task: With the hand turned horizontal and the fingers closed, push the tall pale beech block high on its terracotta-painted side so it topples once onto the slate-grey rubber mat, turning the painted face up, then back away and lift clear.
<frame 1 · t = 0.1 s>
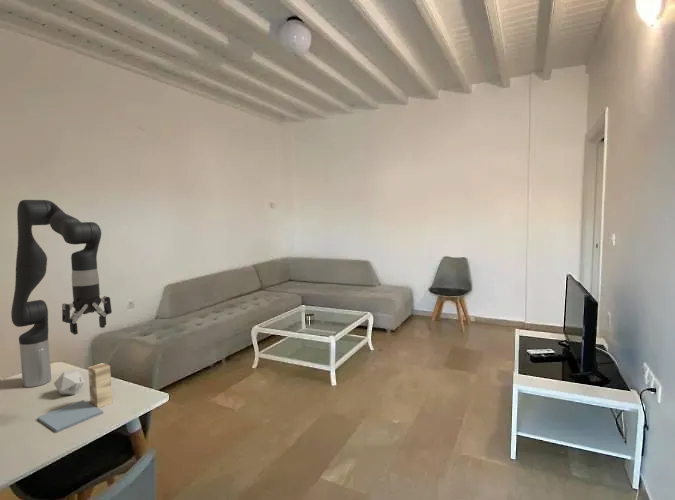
hand: (88, 330, 133), 29 cm above the table, tool pointing down, fingers open, 8 cm apart
die: (70, 393, 151), on the table
beech block: (101, 404, 143), on the table
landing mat: (70, 416, 134), on the table
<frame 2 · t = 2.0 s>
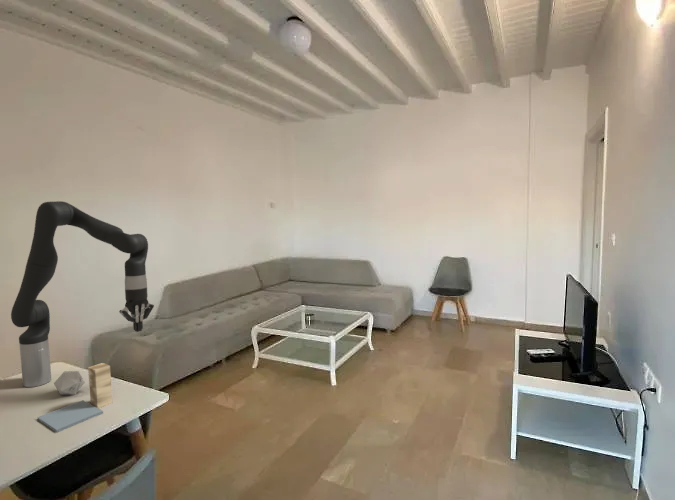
hand: (138, 331, 152), 23 cm above the table, tool pointing down, fingers closed
nothing on the table moved.
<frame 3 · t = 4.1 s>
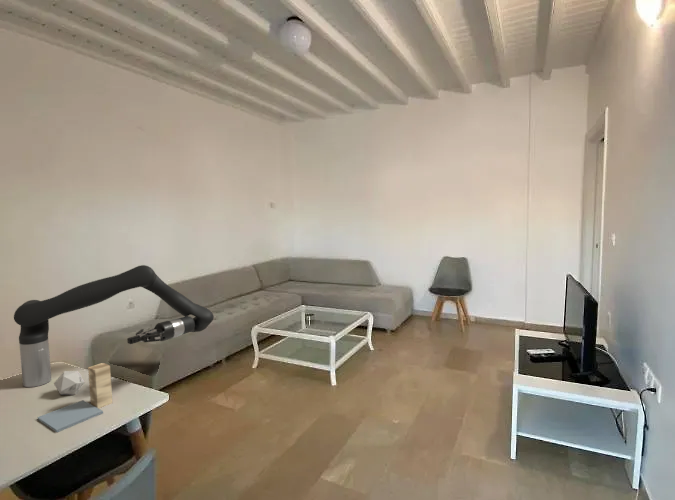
hand: (128, 341, 150), 20 cm above the table, tool horizontal, fingers closed
nothing on the table moved.
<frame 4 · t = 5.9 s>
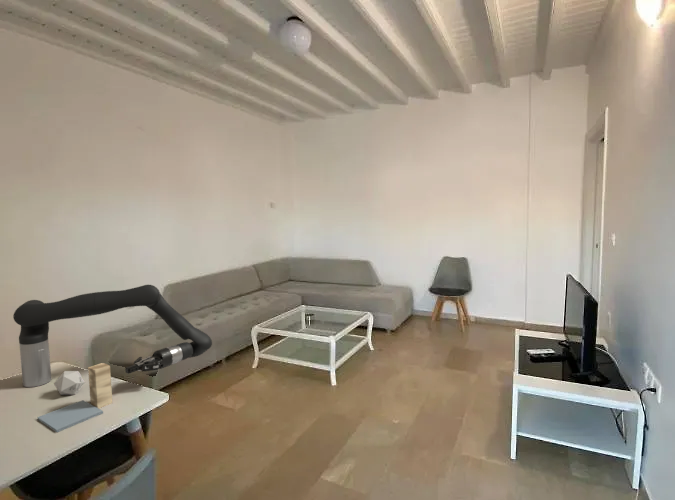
hand: (126, 370, 150), 9 cm above the table, tool horizontal, fingers closed
nothing on the table moved.
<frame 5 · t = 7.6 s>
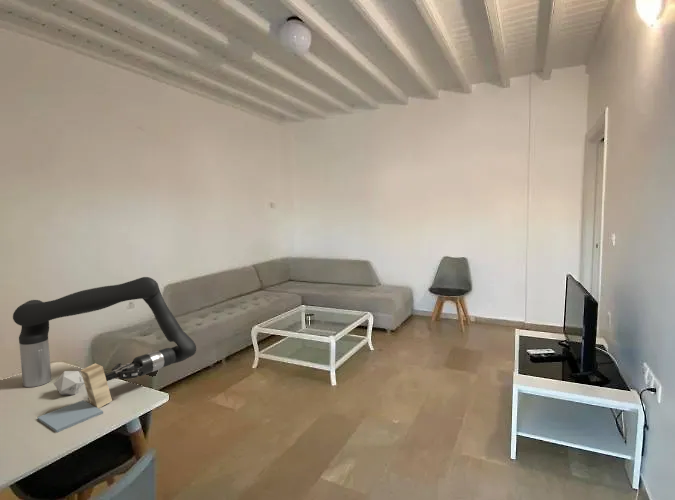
hand: (103, 378, 143), 9 cm above the table, tool horizontal, fingers closed
beech block: (101, 402, 142), on the table, tilted 10°
everything else where it was.
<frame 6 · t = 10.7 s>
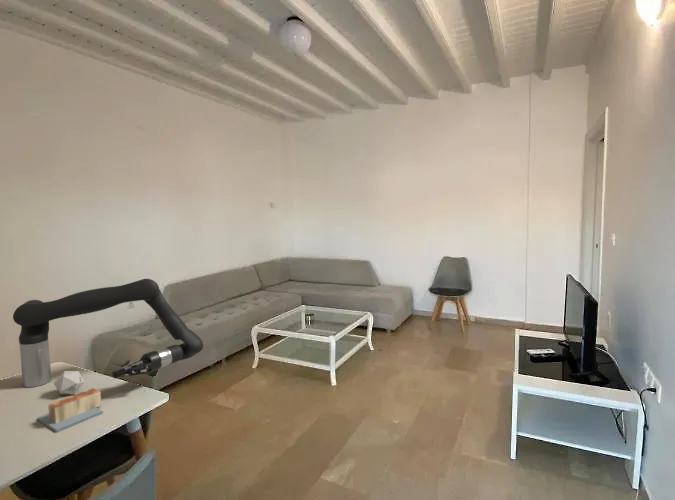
hand: (113, 375, 145), 9 cm above the table, tool horizontal, fingers closed
beech block: (97, 396, 141), point 3 cm above the table, tilted 90°, touching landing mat
everything else where it was.
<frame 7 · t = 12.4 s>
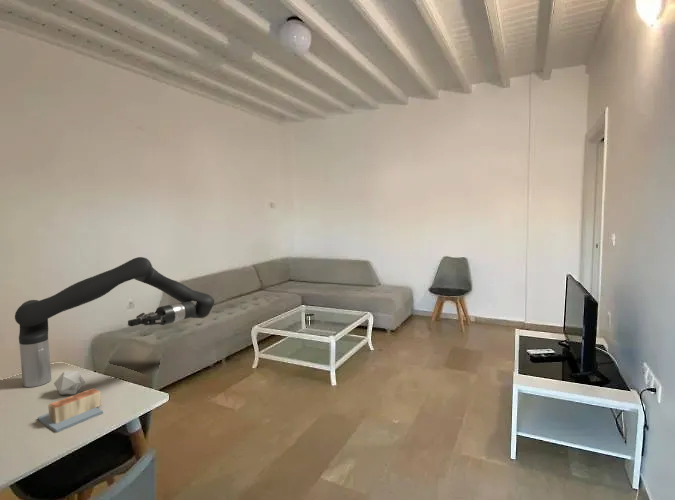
hand: (129, 323, 149), 27 cm above the table, tool horizontal, fingers closed
nothing on the table moved.
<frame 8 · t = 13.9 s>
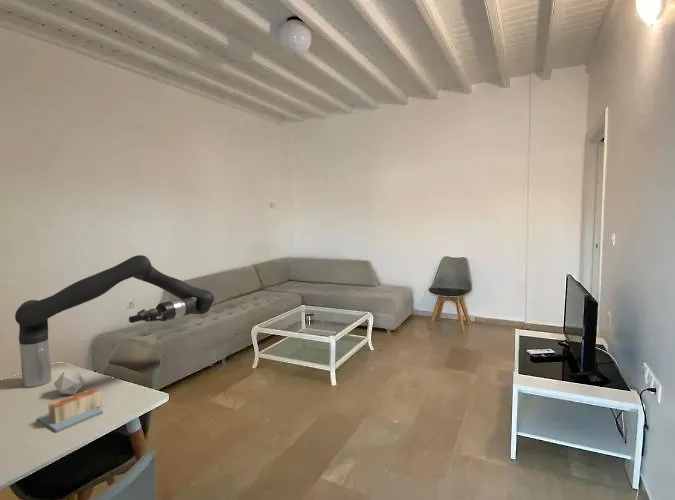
hand: (130, 320, 150), 28 cm above the table, tool horizontal, fingers closed
nothing on the table moved.
at the end: beech block tilted 90°; beech block touching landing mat; beech block point 3.3 cm above the table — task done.
